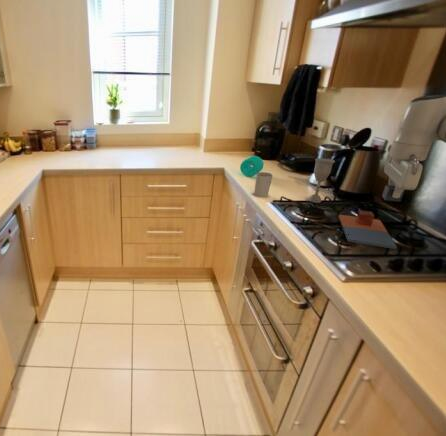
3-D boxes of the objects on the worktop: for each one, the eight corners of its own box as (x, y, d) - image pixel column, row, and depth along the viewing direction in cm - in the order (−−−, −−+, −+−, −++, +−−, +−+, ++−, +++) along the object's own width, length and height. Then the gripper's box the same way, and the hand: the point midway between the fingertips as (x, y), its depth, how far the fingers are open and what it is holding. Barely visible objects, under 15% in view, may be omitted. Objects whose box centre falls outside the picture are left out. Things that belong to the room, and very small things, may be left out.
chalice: (302, 199, 141) (311, 159, 133) (311, 196, 144) (321, 157, 136) (317, 204, 135) (328, 163, 127) (327, 201, 138) (338, 161, 130)
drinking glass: (269, 193, 148) (273, 173, 144) (267, 198, 143) (272, 177, 138) (253, 191, 151) (257, 171, 147) (252, 196, 145) (255, 175, 141)
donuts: (238, 175, 175) (240, 157, 171) (244, 171, 182) (247, 154, 178) (256, 178, 169) (259, 160, 165) (262, 174, 176) (265, 156, 172)
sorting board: (379, 222, 118) (380, 219, 118) (396, 249, 100) (397, 246, 100) (338, 216, 123) (339, 214, 123) (347, 241, 105) (348, 238, 105)
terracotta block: (368, 221, 117) (372, 211, 115) (371, 226, 113) (374, 215, 112) (355, 219, 118) (358, 210, 116) (357, 224, 115) (360, 214, 113)
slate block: (396, 197, 104) (401, 186, 102) (400, 202, 100) (404, 190, 99) (381, 196, 105) (385, 184, 103) (384, 200, 102) (389, 188, 100)
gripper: (435, 160, 86) (415, 207, 92) (411, 146, 103) (395, 186, 109) (406, 158, 89) (389, 204, 95) (387, 144, 106) (373, 184, 112)
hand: (392, 194), depth 102 cm, fingers closed on slate block, 4 cm apart
